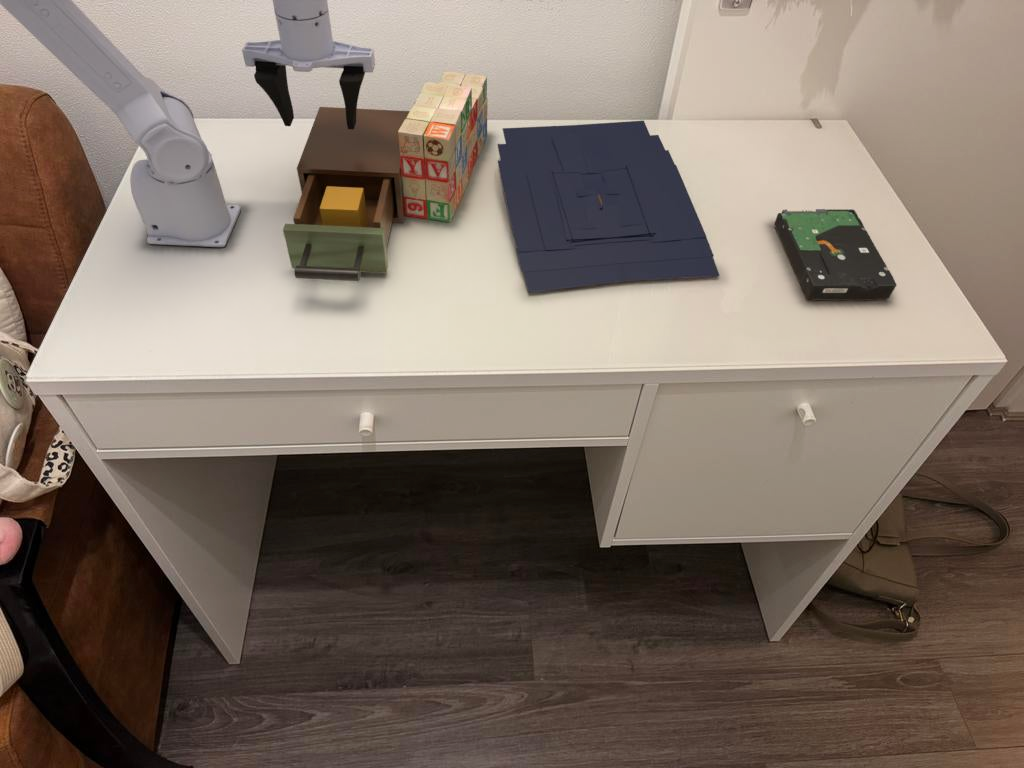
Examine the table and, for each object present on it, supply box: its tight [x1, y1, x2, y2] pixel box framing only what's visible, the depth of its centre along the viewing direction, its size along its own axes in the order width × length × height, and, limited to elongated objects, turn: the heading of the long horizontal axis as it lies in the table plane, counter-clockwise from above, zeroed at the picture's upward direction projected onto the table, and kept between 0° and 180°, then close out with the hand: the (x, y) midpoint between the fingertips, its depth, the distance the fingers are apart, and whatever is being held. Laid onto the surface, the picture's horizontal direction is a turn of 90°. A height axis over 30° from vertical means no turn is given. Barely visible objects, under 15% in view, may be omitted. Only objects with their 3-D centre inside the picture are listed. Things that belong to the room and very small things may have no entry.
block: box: [320, 186, 368, 227], centre depth 90 cm, size 4×4×5 cm
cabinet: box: [296, 106, 410, 224], centre depth 98 cm, size 14×12×7 cm
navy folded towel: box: [497, 120, 721, 294], centre depth 98 cm, size 24×30×4 cm
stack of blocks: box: [398, 70, 489, 223], centre depth 99 cm, size 21×6×12 cm, turn 169°
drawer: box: [282, 173, 396, 282], centre depth 89 cm, size 19×11×6 cm, turn 179°
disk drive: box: [774, 208, 897, 301], centre depth 93 cm, size 10×3×15 cm
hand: (320, 123), depth 92 cm, fingers open, 7 cm apart
